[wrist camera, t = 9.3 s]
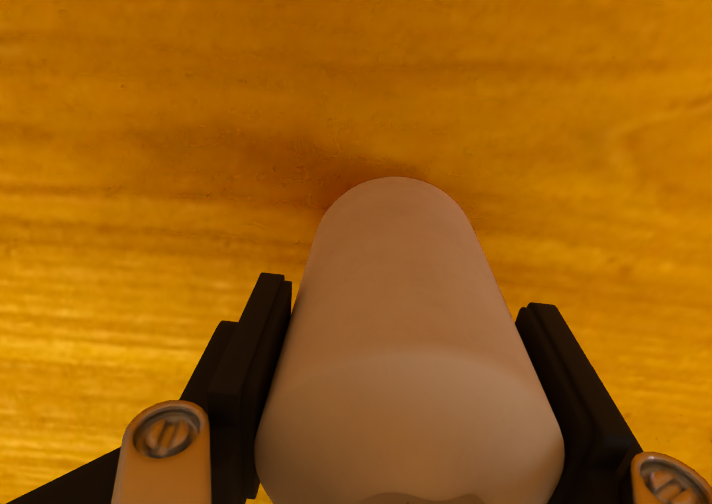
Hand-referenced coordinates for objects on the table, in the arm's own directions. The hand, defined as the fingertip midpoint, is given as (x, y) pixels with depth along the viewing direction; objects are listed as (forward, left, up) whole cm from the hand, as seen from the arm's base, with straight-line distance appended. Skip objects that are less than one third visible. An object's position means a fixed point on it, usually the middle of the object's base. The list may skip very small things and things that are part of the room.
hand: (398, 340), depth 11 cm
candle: (0, 0, -5) cm, 5 cm away
